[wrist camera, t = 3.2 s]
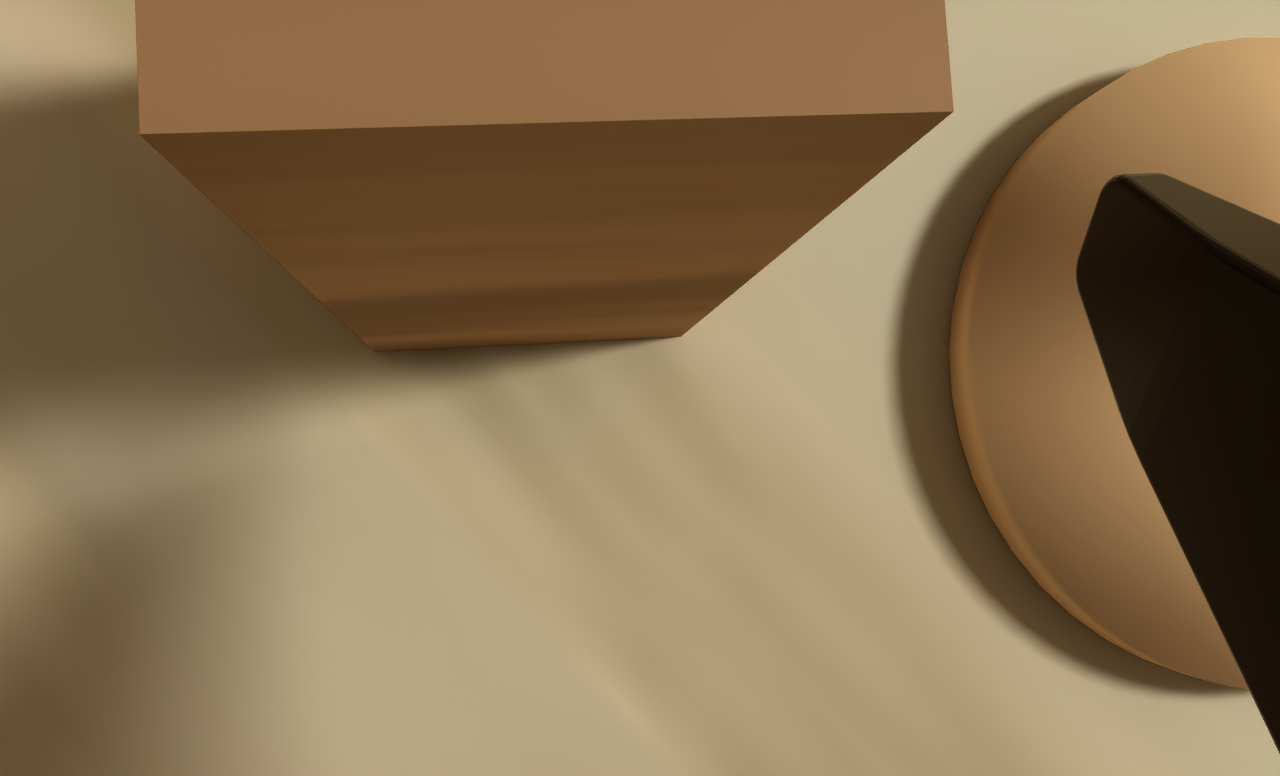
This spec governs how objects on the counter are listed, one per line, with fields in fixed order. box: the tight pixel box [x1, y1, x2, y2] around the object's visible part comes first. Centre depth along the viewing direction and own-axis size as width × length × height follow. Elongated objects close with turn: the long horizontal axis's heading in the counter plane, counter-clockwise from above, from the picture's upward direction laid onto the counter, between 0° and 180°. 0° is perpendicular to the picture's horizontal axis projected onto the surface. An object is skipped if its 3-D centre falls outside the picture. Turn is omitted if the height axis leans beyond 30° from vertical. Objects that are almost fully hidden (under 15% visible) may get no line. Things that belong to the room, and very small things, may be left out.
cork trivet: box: [949, 38, 1280, 691], centre depth 20 cm, size 11×11×1 cm
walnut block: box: [135, 0, 953, 352], centre depth 13 cm, size 5×5×12 cm
